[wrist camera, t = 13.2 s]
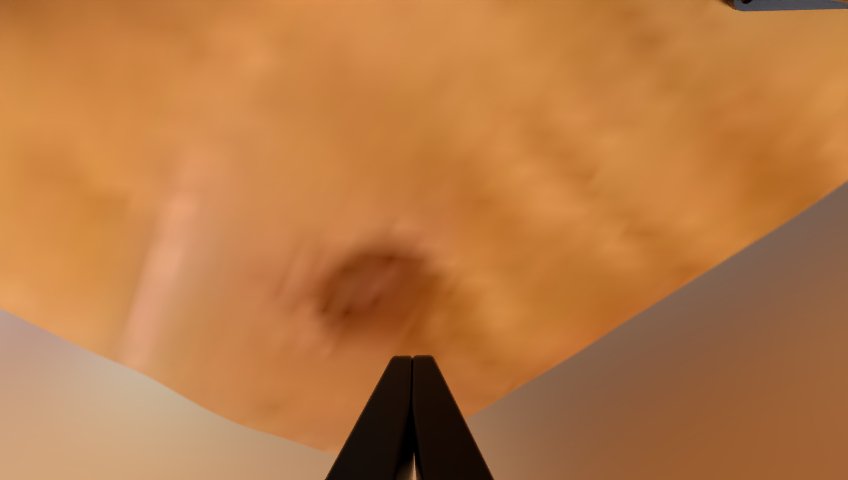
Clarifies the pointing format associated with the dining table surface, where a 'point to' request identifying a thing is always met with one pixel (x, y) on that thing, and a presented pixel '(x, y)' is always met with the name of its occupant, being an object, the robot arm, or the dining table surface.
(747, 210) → the dining table surface
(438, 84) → the dining table surface
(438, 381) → the robot arm
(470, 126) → the dining table surface
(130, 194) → the dining table surface
